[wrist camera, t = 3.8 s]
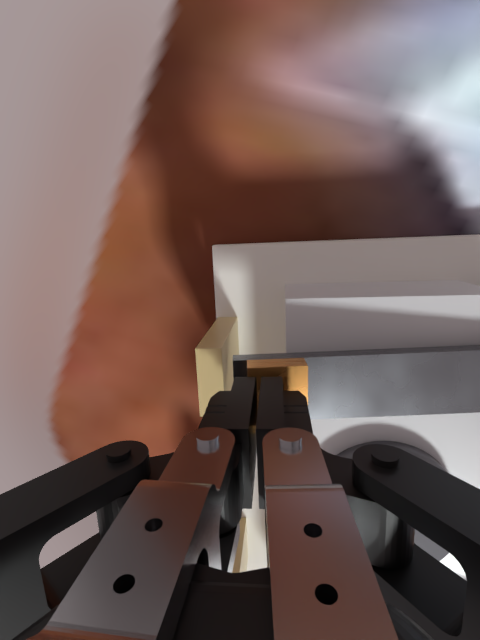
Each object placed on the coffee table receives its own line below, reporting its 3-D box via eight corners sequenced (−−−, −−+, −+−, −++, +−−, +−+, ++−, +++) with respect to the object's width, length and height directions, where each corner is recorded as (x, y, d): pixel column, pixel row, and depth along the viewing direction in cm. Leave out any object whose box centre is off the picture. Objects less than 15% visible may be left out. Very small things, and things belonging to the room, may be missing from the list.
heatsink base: (216, 244, 19) (185, 251, 13) (528, 232, 18) (662, 233, 11) (234, 585, 24) (219, 706, 18) (478, 602, 23) (552, 741, 16)
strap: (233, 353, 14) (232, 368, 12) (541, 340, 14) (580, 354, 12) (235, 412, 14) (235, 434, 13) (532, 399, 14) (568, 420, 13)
